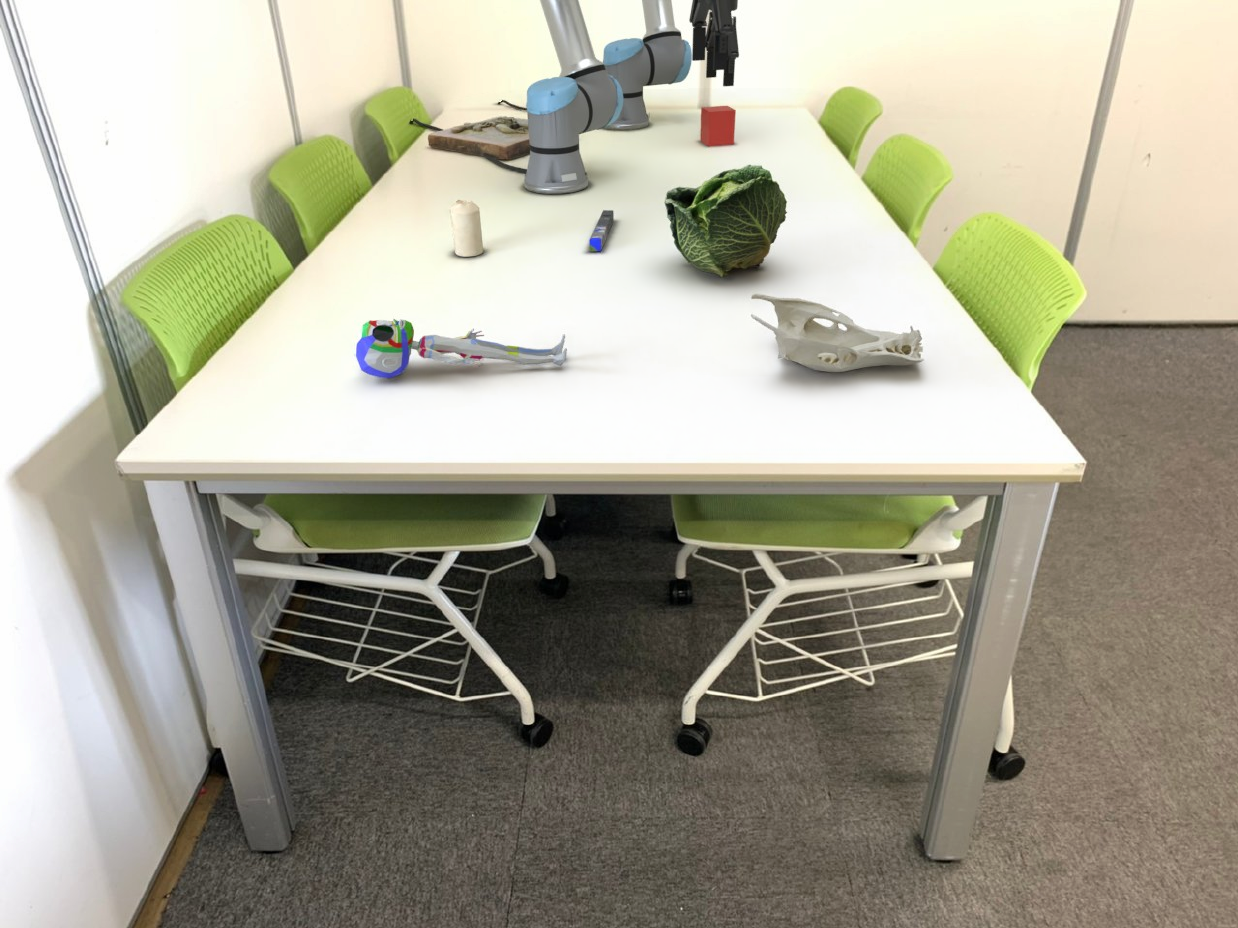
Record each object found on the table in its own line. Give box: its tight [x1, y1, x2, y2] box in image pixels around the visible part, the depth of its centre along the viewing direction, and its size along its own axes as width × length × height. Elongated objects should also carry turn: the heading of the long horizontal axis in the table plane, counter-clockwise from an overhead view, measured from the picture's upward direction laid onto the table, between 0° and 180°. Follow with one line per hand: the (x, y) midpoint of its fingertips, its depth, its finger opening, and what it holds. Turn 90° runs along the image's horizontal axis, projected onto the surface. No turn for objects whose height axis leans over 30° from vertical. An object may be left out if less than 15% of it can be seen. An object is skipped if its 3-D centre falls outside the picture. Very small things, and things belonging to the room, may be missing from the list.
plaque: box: [427, 115, 530, 161], centre depth 252 cm, size 30×7×30 cm
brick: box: [699, 105, 737, 147], centre depth 248 cm, size 8×7×9 cm
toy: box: [353, 318, 568, 379], centre depth 130 cm, size 10×8×30 cm
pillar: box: [588, 209, 615, 252], centre depth 182 cm, size 2×2×20 cm
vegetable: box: [664, 164, 788, 278], centre depth 161 cm, size 20×19×20 cm
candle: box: [449, 199, 484, 258], centre depth 172 cm, size 6×6×10 cm
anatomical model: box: [750, 293, 925, 373], centre depth 129 cm, size 15×9×25 cm
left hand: (708, 65), depth 192 cm, fingers open, 13 cm apart
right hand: (719, 81), depth 242 cm, fingers open, 13 cm apart
